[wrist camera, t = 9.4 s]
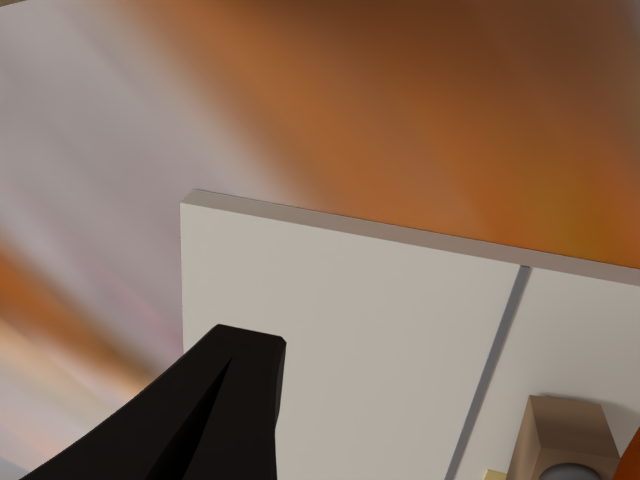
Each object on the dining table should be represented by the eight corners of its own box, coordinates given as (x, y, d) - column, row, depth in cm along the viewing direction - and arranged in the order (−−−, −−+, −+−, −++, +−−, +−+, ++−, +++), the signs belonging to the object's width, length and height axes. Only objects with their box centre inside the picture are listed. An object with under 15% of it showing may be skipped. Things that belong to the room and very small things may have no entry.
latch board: (698, 279, 18) (716, 302, 17) (534, 570, 27) (539, 597, 26) (192, 188, 20) (178, 203, 19) (195, 490, 29) (186, 512, 28)
